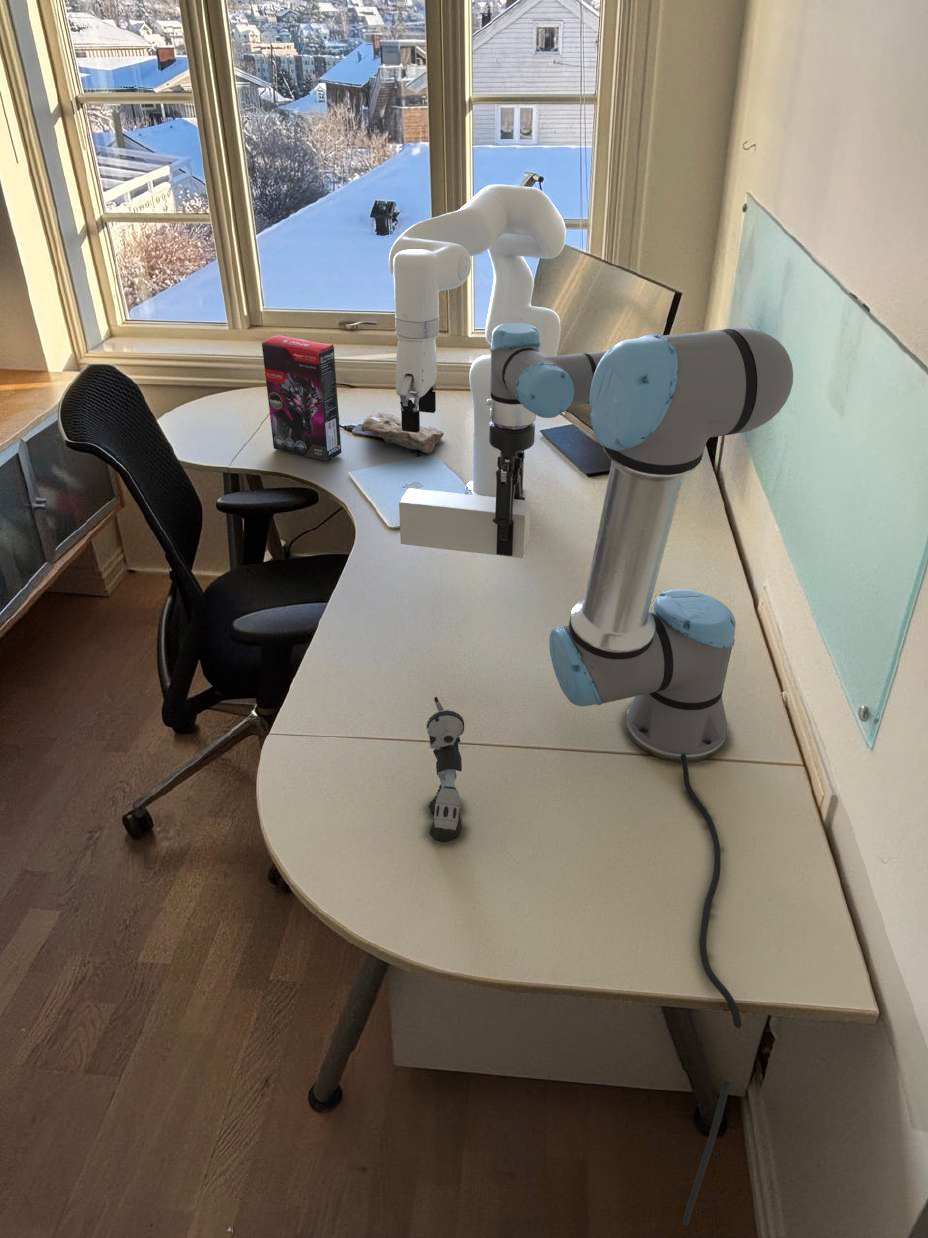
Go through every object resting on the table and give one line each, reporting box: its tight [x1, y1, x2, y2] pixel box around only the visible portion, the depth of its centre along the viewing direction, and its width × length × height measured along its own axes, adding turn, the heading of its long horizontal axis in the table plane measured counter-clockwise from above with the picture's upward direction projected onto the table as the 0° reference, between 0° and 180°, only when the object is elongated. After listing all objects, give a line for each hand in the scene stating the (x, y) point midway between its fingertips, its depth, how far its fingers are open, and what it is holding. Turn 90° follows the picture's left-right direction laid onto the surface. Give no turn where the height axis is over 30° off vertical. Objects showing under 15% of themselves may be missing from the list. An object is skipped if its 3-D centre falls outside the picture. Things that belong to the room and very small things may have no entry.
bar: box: [398, 487, 532, 559], centre depth 164 cm, size 22×6×8 cm, turn 77°
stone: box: [360, 412, 444, 454], centre depth 233 cm, size 21×15×6 cm
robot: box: [425, 696, 465, 842], centre depth 121 cm, size 20×5×20 cm, turn 3°
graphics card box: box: [261, 334, 342, 462], centre depth 222 cm, size 17×7×27 cm, turn 62°
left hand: (419, 421), depth 168 cm, fingers open, 9 cm apart
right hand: (507, 545), depth 164 cm, fingers closed on bar, 6 cm apart
